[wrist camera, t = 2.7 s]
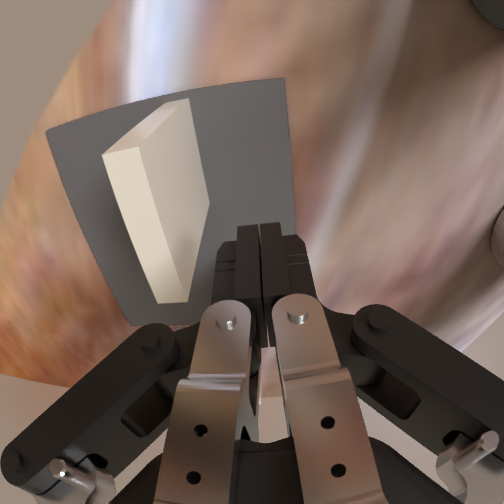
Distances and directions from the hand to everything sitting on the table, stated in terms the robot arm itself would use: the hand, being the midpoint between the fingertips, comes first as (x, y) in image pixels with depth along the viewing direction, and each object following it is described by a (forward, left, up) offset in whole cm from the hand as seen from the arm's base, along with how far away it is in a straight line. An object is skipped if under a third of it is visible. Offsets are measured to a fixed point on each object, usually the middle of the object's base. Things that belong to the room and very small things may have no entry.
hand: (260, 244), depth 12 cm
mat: (+7, +7, -12) cm, 15 cm away
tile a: (+5, 0, -11) cm, 12 cm away
